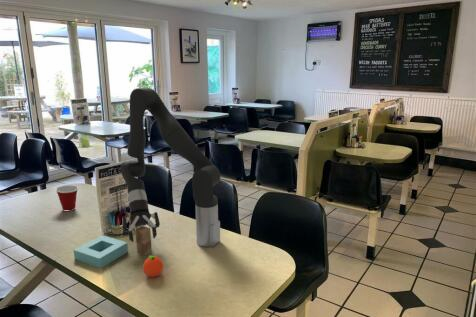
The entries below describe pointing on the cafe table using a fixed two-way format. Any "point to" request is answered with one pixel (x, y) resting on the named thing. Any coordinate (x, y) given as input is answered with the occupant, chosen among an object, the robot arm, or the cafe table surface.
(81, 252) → the socket block
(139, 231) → the peg
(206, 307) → the cafe table surface
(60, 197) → the plastic cup
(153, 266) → the clementine
